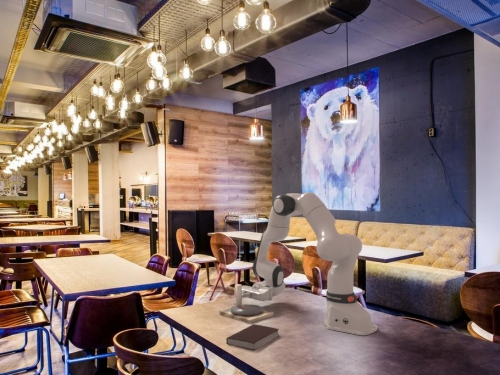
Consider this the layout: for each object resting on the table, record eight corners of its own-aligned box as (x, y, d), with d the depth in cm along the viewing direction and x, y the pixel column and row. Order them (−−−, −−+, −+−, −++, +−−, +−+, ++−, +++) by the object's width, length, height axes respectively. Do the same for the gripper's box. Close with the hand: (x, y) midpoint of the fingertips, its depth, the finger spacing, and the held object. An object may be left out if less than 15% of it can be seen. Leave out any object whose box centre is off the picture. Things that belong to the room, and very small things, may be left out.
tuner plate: (273, 315, 180) (273, 312, 180) (249, 323, 169) (249, 319, 169) (243, 307, 194) (243, 304, 194) (219, 314, 183) (219, 310, 183)
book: (225, 345, 145) (225, 336, 145) (253, 330, 161) (253, 322, 161) (254, 352, 138) (254, 343, 138) (279, 336, 154) (279, 328, 154)
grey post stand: (268, 311, 180) (268, 287, 181) (243, 317, 171) (243, 292, 171) (246, 303, 194) (246, 281, 194) (221, 308, 184) (221, 285, 185)
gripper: (246, 281, 205) (226, 285, 195) (274, 288, 190) (254, 292, 181) (246, 293, 205) (226, 298, 195) (274, 300, 190) (254, 306, 180)
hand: (240, 295), depth 188 cm, fingers closed, pressing on grey post stand
